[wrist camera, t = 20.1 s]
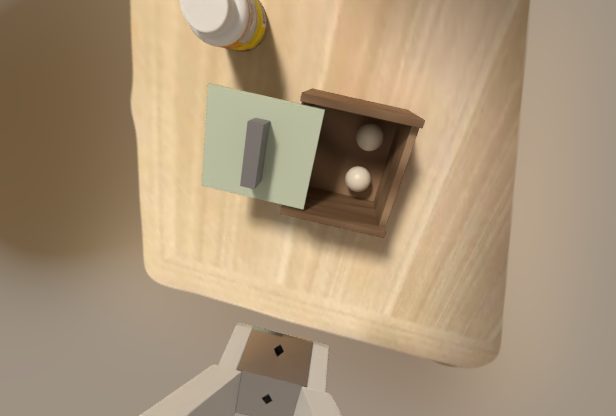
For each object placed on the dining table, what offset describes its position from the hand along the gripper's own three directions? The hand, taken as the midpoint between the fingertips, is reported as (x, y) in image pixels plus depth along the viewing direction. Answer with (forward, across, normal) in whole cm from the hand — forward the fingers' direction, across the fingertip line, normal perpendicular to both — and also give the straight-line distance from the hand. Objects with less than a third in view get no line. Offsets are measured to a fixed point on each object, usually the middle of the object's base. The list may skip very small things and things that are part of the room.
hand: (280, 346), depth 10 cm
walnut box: (+30, -2, 0) cm, 30 cm away
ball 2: (+30, -4, +3) cm, 30 cm away
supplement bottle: (+30, +12, -11) cm, 34 cm away
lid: (+22, +7, 0) cm, 23 cm away
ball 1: (+30, -4, -2) cm, 30 cm away
